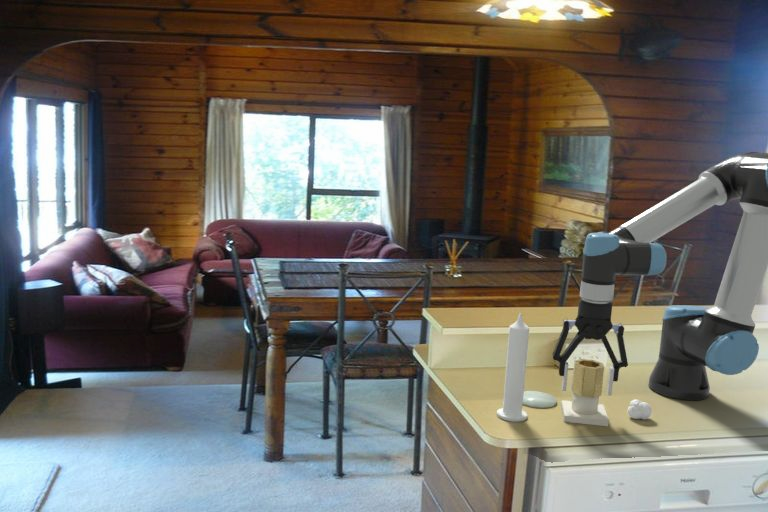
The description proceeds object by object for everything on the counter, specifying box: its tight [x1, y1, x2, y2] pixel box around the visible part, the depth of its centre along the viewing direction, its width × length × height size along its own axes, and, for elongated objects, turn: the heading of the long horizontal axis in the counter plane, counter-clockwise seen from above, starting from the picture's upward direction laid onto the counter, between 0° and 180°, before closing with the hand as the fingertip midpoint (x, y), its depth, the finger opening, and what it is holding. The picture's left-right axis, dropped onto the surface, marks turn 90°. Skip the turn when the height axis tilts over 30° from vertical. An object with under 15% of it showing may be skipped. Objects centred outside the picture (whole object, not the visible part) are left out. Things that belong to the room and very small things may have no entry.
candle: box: [496, 312, 530, 423], centre depth 173 cm, size 7×7×25 cm
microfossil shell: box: [627, 399, 653, 421], centre depth 178 cm, size 4×5×6 cm
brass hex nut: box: [571, 358, 605, 397], centre depth 175 cm, size 7×7×7 cm
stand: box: [560, 392, 610, 427], centre depth 176 cm, size 10×10×10 cm
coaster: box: [523, 390, 558, 409], centre depth 185 cm, size 10×10×1 cm
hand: (586, 391), depth 176 cm, fingers open, 10 cm apart
